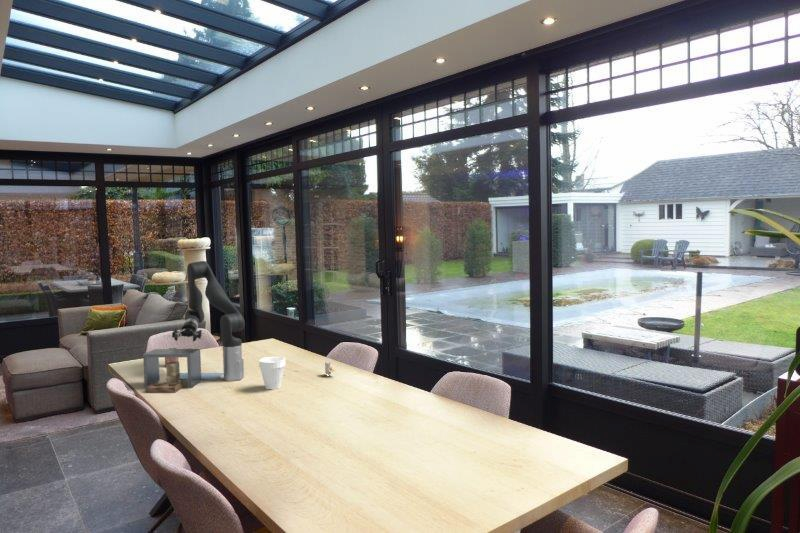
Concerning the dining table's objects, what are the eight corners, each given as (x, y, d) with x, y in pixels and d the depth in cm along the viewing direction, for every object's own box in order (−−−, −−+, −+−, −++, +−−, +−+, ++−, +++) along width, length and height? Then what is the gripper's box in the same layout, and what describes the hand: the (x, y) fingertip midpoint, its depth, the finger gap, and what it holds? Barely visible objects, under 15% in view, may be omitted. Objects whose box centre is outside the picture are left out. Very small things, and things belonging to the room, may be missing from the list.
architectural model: (331, 374, 293) (331, 360, 293) (336, 377, 287) (335, 363, 286) (325, 375, 292) (324, 361, 291) (329, 378, 285) (329, 364, 285)
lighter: (166, 367, 312) (166, 349, 311) (163, 366, 314) (162, 349, 313) (180, 364, 318) (179, 347, 318) (176, 363, 321) (176, 346, 320)
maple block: (180, 383, 279) (179, 361, 278) (176, 386, 274) (175, 363, 273) (171, 383, 279) (170, 361, 278) (166, 386, 274) (166, 363, 274)
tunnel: (201, 381, 282) (200, 348, 281) (191, 388, 270) (190, 354, 269) (156, 381, 283) (155, 349, 282) (144, 388, 271) (143, 354, 270)
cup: (279, 391, 262) (279, 362, 261) (255, 390, 264) (254, 362, 263) (290, 384, 274) (289, 357, 273) (266, 383, 276) (265, 356, 275)
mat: (224, 373, 296) (224, 372, 296) (216, 379, 284) (216, 378, 284) (176, 373, 298) (176, 372, 298) (166, 379, 286) (166, 378, 286)
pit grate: (181, 388, 270) (181, 383, 269) (175, 392, 263) (174, 387, 262) (153, 388, 270) (153, 383, 270) (145, 392, 263) (145, 387, 263)
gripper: (176, 320, 303) (170, 332, 288) (203, 321, 306) (199, 333, 291) (175, 333, 305) (170, 345, 290) (203, 334, 308) (199, 346, 293)
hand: (184, 339), depth 290 cm, fingers open, 8 cm apart
